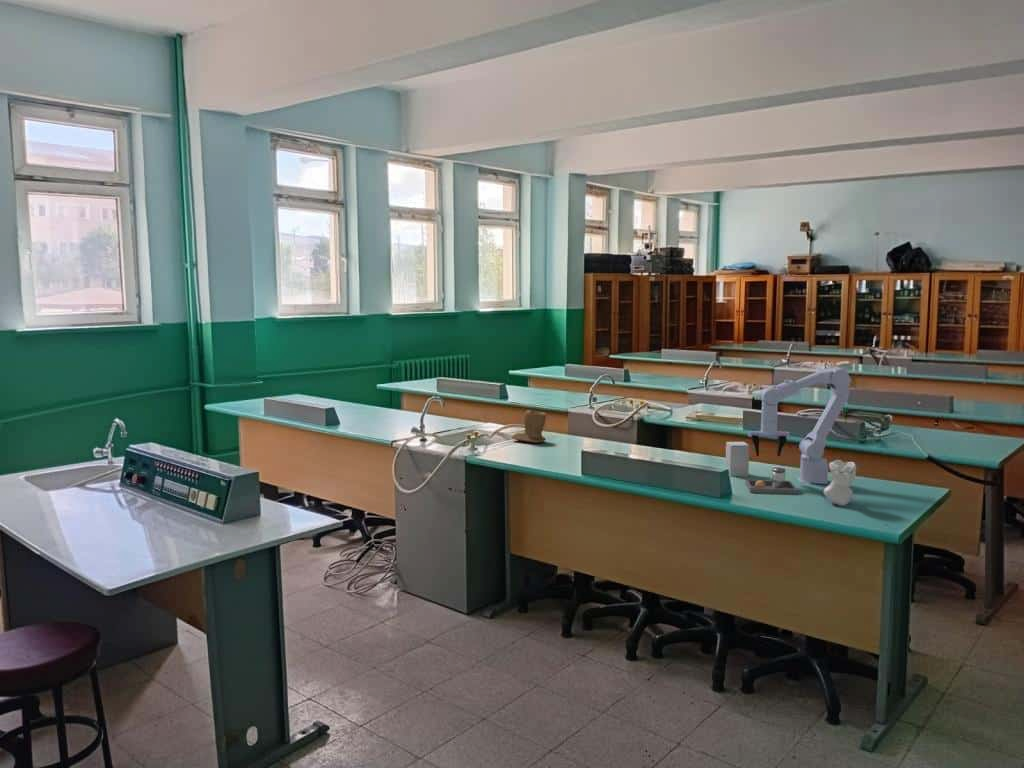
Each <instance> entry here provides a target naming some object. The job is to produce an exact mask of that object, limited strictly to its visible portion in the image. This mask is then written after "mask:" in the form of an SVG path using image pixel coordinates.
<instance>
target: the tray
mask: <svg viewBox="0 0 1024 768" xmlns="http://www.w3.org/2000/svg"><path fill="white" fill-rule="evenodd" d="M744 481H745V486H746V488H747V490H748V492H749V493H750V494H774V495H775V494H777V495H779V494H780V495H797V494H798V488H796V485H794V484H793V482H792V481H791V480H785V488H772V479H769V480H768V479H745V480H744ZM757 481H763V482H764V483H765V488H756V487H755V483H756V482H757Z"/></svg>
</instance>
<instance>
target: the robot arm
mask: <svg viewBox="0 0 1024 768" xmlns="http://www.w3.org/2000/svg"><path fill="white" fill-rule="evenodd" d="M851 381H852V379H851V377H850V375H849V372H848V371H847V370H845V369H843V368H842V369H841V368H837V367H835V366H829V367H827V368H822V369H820V370H818V371H816V372H813V373H812V374H808V375H806V376H805V377H802V378H800V379H798V380H792V379H785V380H784V381H783V382H781V383H779V384H777V385H775V384H774V385H771V387H766V388H764V389H762V391H761V392H760V394H759V399H760V400H761V413H760V416H761V417H760V430H748V432H747V433H748V437H750V438H751V440H752V443H753V446H754V450H755V456H756V457H759V456H760V438H761V437H764V438H777V449H776V456H777V457H778V458H779V457H781V453H782V450H783V448H784V446H785V444H786V442H787V439H788V438H790V432H789V431H783V430H782V431H781V430H778V411H779V410H778V404H779V402H780V401H782V400H785V399H788V398H790V397H792V396H794V395H797V394H798V393H799V390H801V389H804V388H808V387H810V386H813V385H816V384H819V383H823V384H827V385H828V386H829V387H830V390H831V392H832V396H831V397H830V399H829V400H828V402H827V405H826V406H825V408H824V410H823V412H822V414H821V415H820V416H819V419H818V420H817V422H816V423H815V426H814V428H813V429H812V431H810V432H809V433H807V434H806V436H805V438H804V439H802V440H801V441H800V442H799V444H798V449H799V451H800V453H801V455H800V470H799V475H800V476H796V478H797V479H798V480H799V481H800V482H801V483H804V484H805V483H809V484H820V485H821V484H825V485H827V484H828V472H829V463H828V459H827V458H823V456H824V453H825V447H826V445H827V436H828V434H829V433H830V432H831V430H832V428H833V426H834V424H835V422H836V421H837V419H838V417H839V415H840V414H841V412H842V410H843V409H844V407H845V405H846V404H847V403H846V402H847V401H848V399H849V397H850V392H851V391H850V387H851ZM828 485H829V484H828Z"/></svg>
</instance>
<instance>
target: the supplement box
mask: <svg viewBox="0 0 1024 768" xmlns="http://www.w3.org/2000/svg"><path fill="white" fill-rule="evenodd" d="M725 443H726V444H725V468H726V467H727V468H728V469H729V472H730V476H729V477H749V467H750V466H749V465H750V463H749V462H750V445H749V444H748V443H746V442H745V441H726V442H725Z"/></svg>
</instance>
